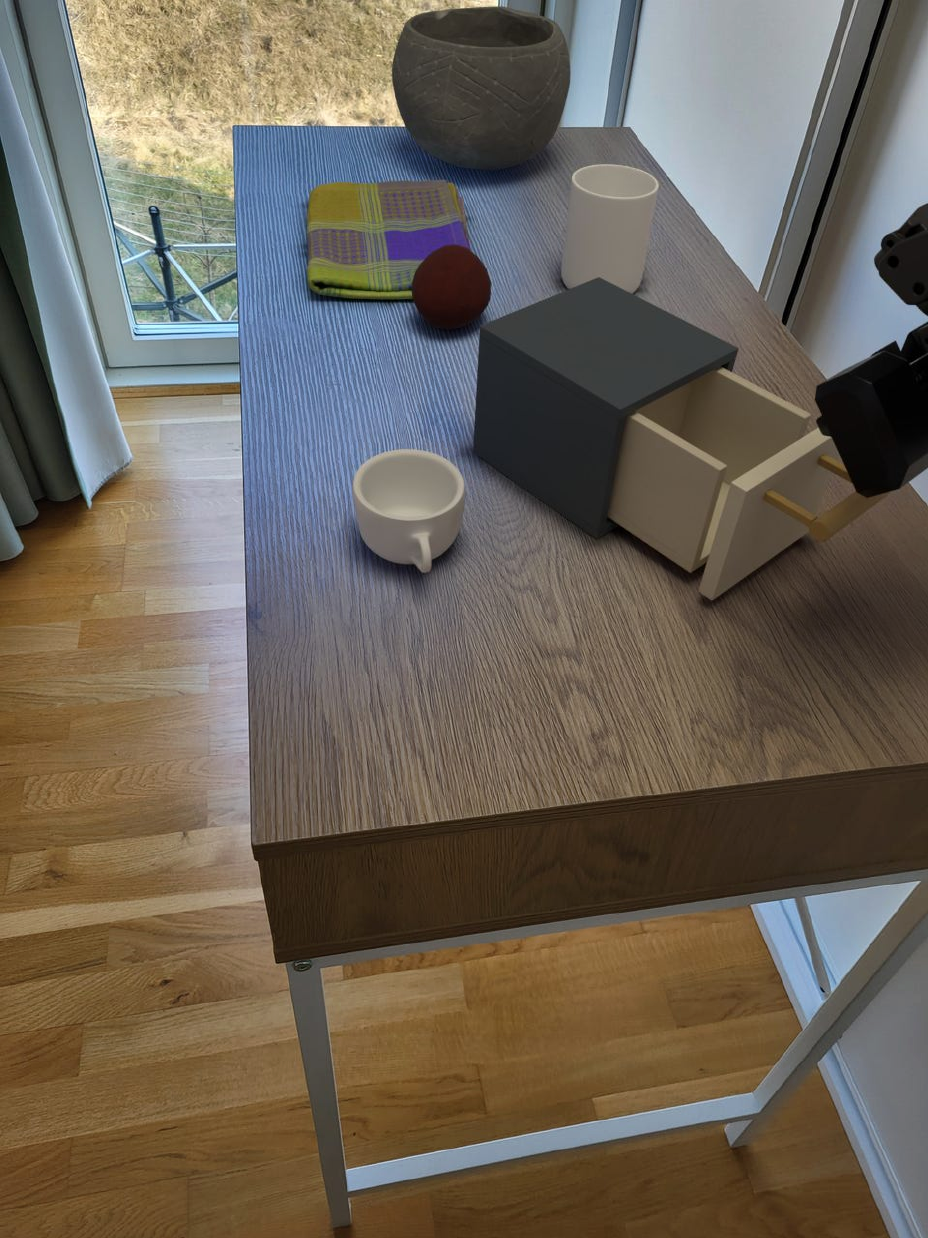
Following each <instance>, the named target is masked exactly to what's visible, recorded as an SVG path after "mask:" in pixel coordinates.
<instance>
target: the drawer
mask: <svg viewBox="0 0 928 1238" xmlns="http://www.w3.org/2000/svg"><path fill="white" fill-rule="evenodd" d="M811 416H812V414H811V413H810V412H808V411H806V410H804V409H803V408H800V407H799V406H796V405H795V404H792V403H791V402H789V401H787V400H785V399H783V398H782V397H780V396H777V395H776V394H774V393H772V392H770V391H768V390H767V389H764V388H762V387H761V386H759V385H756V384H755V383H753V382H751V381H749V380H747V379H745V378H743V377H742V376H739V375H738V374H735V373H734V372H733V371H732V372H730V371H728V370H726V369H724V368H723V367H721V366H720V367H718V368H716V369H714V370H712V371H710V372H708V373H707V374H705V375H703V376H701V377H699V378H697V379H695V380H693V381H691V382H689V383H688V384H686V385H684V386H682V387H680V388H678V389H676V390H674V391H672V392H670V393H669V394H667V395H665V396H663V397H661V398H659V399H657V400H655V401H653V402H651V403H650V404H648V405H646V406H644V407H642V408H640V409H638V410H636V411H634V412H632V413H631V414H629V415H627V416H626V420H625V425H624V431H623V436H622V441H621V446H620V452H619V457H618V462H617V468H616V473H615V478H614V483H613V489H612V494H611V499H610V504H609V510H608V515H607V517H609V518H610V519H612V520H613V521H614V522H616V523H617V524H619V526H620V527H622V528H623V529H624V530H626V531H628V532H629V533H631V534H632V535H634V536H635V537H637V538H638V539H640V540H641V541H643V542H644V543H645V544H647V545H648V546H649V547H651V548H653V550H656V551H657V552H658V553H660V554H661V555H663V556H664V557H666V558H667V559H669V560H670V561H671V562H674V564H676V565H678V566H680V568H682V569H684V570H685V571H686V572H688V573H690V574H691V573H693V572H694V571H695V570H697V569H699V568H700V567H702V566H703V565H705V566H704V571H703V574H702V578H701V581H700V584H699V588H698V593H700V594H701V595H703V596H704V597H706V598H707V599H709V600H710V601H715V599H717V598H718V597H720V596H721V595H722V594H724V593H725V592H727V591H728V590H729V589H731V588H732V587H734V586H735V585H736V584H738V583H739V582H740V581H742V580H743V579H744V578H746V577H748V576H749V575H750V574H752V573H753V572H754V571H756V570H757V569H759V568H760V567H761V566H763V565H765V564H766V563H767V562H769V561H770V560H772V558H774V557H775V556H777V555H778V554H780V553H781V552H782V551H784V550H785V549H786V548H788V547H790V546H791V545H792V544H794V543H795V542H796V541H798V540H799V539H801V538H803V536H805V535H806V534H808V533H809V534H810V536H811V538H813V539H814V540H815V541H817V542H821V543H823V542H826V541H828V540H829V539H831V538H832V537H833V536H834V535H836V534H838V533H839V532H841V530H843V529H844V528H846V527H847V526H849V525H850V524H851V523H853V522H854V521H855V520H857V519H858V518H859V517H860V516H862V515H863V514H865V513H866V512H867V511H869V510H870V509H871V508H873V507H875V506H876V505H877V504H878V503H880V502H881V501H882V500H884V499H885V498H886V497H888V496H889V495H890V494H891V492H887V493H884V494H880V495H877V496H873V497H870V498H866V497H864V496H862V495H860V494H858V493H857V492H856V490H855V491H854V492H852V493H851V494H850V495H848V496H847V497H845V498H844V499H843V500H841V501H839V502H838V503H836V504H835V505H834V506H832V507H831V508H829V509H828V510H827V511H826V512H824V513H823V514H821V515H820V516H817V515H816V514H817V512H818V509H819V506H820V503H821V502H822V498H823V496H824V494H825V492H826V489H827V486H828V483H829V481H830V478H831V476H832V474H835V475H836V476H838V477H840V478H842V479H843V480H845V481H846V482H849V483H850V484H852V485H853V483H852V481H851V479H850V477H849V475H848V472H847V470H846V468H845V466H844V464H843V462H840V461H839V460H838V458H839V457H840V455H839V452H838V450H837V448H836V446H835V444H834V441H833V439H832V437H829V436H824V435H822V434H821V432H820V430H819V428H818V427H817V428H816V429H815V428H814V429H813V430H812V431H811V432H808V433H807V434H806V431H807V428H808V425H809V423H810V419H811V418H812V417H811ZM805 434H806V435H805Z"/></svg>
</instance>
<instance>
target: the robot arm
mask: <svg viewBox="0 0 928 1238" xmlns="http://www.w3.org/2000/svg"><path fill="white" fill-rule="evenodd" d="M873 263H874V266H875V268H876V270H877V271H878V276H879V277H880V279H882V281H883V282H884V283H885V284H886V285H887V286H888V287H889V288H890V289H891V290H892V291H893V292H894V293H895V295H896V296H897V297H898V298H899V299H900V300H901V301H902V302H903V303H904V304H905V305H906V306H915V307H916V308H917V309H918V310H919V311H920V312H921V313H923V314H924V315H925V316H927V317H928V202H926V203H925V204H922V205H921V206H919V207H917V208H916V209H915V210H914V212H912V213H911V215H910V216H909V217H908V218H907V219H906V220H905V222H903V224H901V226H900V227H899V228H898V229H896V230H893V231H892V232H889V233H887V234H886V235H884V236H883V237H882V238H881V240H880V250H879V251H878V252H877V253H876V254H875V255H874V257H873ZM814 402H815V404H816V406H817V408H818V411H819V412H820V416H819V417H817V418H816V419H815V423H816V425H817V428H819V430H820V432H821V434H822V435H824V436H829V437H832V439H833V441H834V444H835V446H836V448H837V450H838V452H839V457H840V459H841V462H842V464H844V466H845V468H846V470H847V472H848V475H849V477H850V479H851V481H852V483H853V484H852V483H851V484H852V486H853V488H854V490H855V491H856V492H857V493H858V494H860V495H862V496H864V497H866V498H870V497H873V496H877V495H880V494H884V493H887V492H890V493H891V492H893V491H898V490H900V489H902V488H903V487H905V485H907V484H908V483H910V482H911V481H912V480H914V479H915V478H917V477H918V476H919V475H920V474H922V473H923V472H925V471H926V470H927V469H928V321H926V322H924V323H922V324H921V325H919V326H917V327H915V328H914V329H912V330H911V331H909V332H908V333H907V334H906V337H905V339H904V342H903V344H902V347H901V348H900V346H899V344H898V341H897V340H894V341H892V342H890V343H888V344H886V345H885V346H884V347H882V348H880V349H878V350H877V351H875V352H873V353H872V354H870V356H869V357H867V358H864V359H863V360H860V361H858V362H856V363H854V364H853V365H850V366H848V367H846V368H844V369H843V370H841V371H839V372H838V373H836V374H834V375H832V376H830V377H829V378H827V379H826V380H823V381H822V382H820V383H819V384H817V385H816V386H815V394H814Z"/></svg>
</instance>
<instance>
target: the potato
mask: <svg viewBox="0 0 928 1238" xmlns="http://www.w3.org/2000/svg"><path fill="white" fill-rule="evenodd" d="M411 291H412V298H413V299H412V301H413V303H414V306H415V309H416V311H417V312H418V314H419V315H420V316H421V317H422V319H424V321H425V322H427V323H428V324H429V325H431V326H433V327H434V328H438V329H441V330H454V329H458V328H463V327H465V326H468V325H469V324H471V323H473V322H475V321H476V320H477V319H479V318H480V317H481V316H482V315H483V313H484V312H485V310H487V307H488V306H489V303H490V301H491V299H492V280H491V277H490V274H489V271H488V268H487V267H486V266H485V264H484V263H483V261H482V260H481V259H480V258H479V256H478V255H477V254H476V253H474V252H473V251H472V250H471V249H470V250H469V249H468V248H466V247H463V246H460V245H456V244H454V245H446V246H443V247H441V248H439V249H437V250H435V251H433V252H432V253H431V254H429V255H428V256H427V257H426V258H425V259H424V261H423V262H422V263H421V264H420V265H419V266H418V268H417V270H416V271H415V274H414V277H413V280H412V286H411Z"/></svg>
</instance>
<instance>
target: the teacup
mask: <svg viewBox="0 0 928 1238" xmlns="http://www.w3.org/2000/svg"><path fill="white" fill-rule="evenodd" d="M351 494H352V500H353V501H352V502H353V508H354V512H355V519H356V522H357V527H358V530H359V534H360V536H361V538H362V540H363V542H364V543H365V544H366V546H367V547H368V548H369V549H370V551H372V552H373V553H374V554H375V555H377V556H379V557H381V559H383V560H386V561H389V562H391V563H396V564H400V565H415V566H416V567H417V569H418V570H419V571H420V572H421V573H422V574H427V573H430V572H431V569H432V565H433V564H432V563H433V562H432V561H433V560H434V559H437V558H438V557H440V556H441V555H443V554H444V553H445V552H446V551H447V550H448V549H449V548H450V547H451V546H452V544H453V543H454V542H455V540H456V538H457V536H458V535H459V532H460V531H461V526H462V522H463V516H464V511H465V504H466V485H465V481H464V477H463V475H462V473H461V471H460V470H459V468H457V466H456V465H455V464H453V463H452V462H451V461H449V460H448V459H447V458H445V457H443V456H441V455H439V454H437V453H434V452H431V451H428V450H422V449H414V448H399V449H392V450H387V451H384V452H381V453H379V454H376V455H373V456H372V457H370V458H369V459H367V460H365V461H364V462H363V463H362V464H361V465H360V467H358V468H357V471H356V472H355V474H354V477H353V480H352V487H351Z"/></svg>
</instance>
